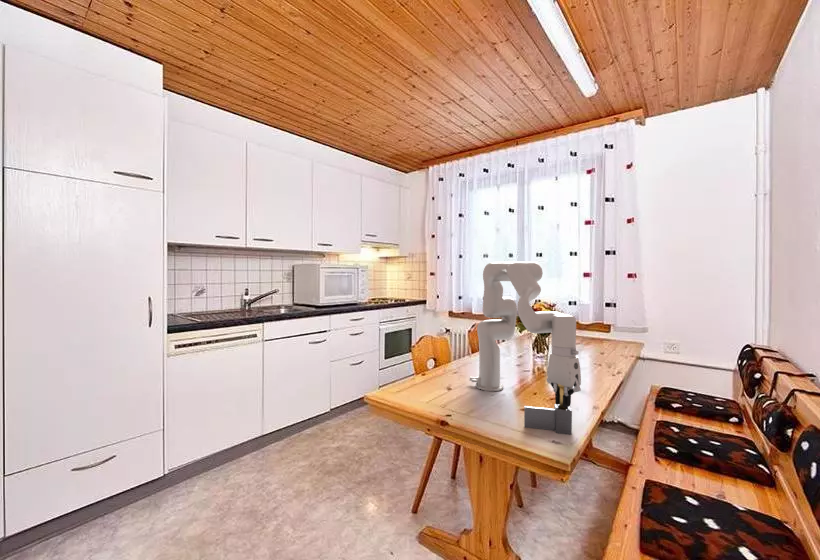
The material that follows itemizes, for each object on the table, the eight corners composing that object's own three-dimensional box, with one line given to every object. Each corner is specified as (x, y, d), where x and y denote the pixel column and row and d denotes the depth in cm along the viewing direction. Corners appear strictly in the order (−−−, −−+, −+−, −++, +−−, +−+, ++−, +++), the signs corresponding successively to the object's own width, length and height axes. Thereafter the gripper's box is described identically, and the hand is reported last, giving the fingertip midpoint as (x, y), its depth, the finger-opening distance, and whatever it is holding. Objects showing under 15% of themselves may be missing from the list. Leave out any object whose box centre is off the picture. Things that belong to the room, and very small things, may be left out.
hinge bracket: (524, 429, 121) (524, 406, 120) (522, 412, 135) (522, 391, 135) (571, 434, 117) (571, 410, 117) (564, 416, 131) (564, 395, 131)
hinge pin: (558, 412, 118) (558, 384, 118) (556, 408, 122) (556, 381, 122) (569, 413, 118) (569, 385, 117) (567, 409, 121) (567, 381, 121)
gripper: (592, 354, 114) (591, 411, 115) (550, 345, 128) (550, 395, 128) (578, 357, 110) (577, 415, 111) (536, 347, 124) (536, 399, 125)
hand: (562, 404), depth 120 cm, fingers closed on hinge pin, 2 cm apart
